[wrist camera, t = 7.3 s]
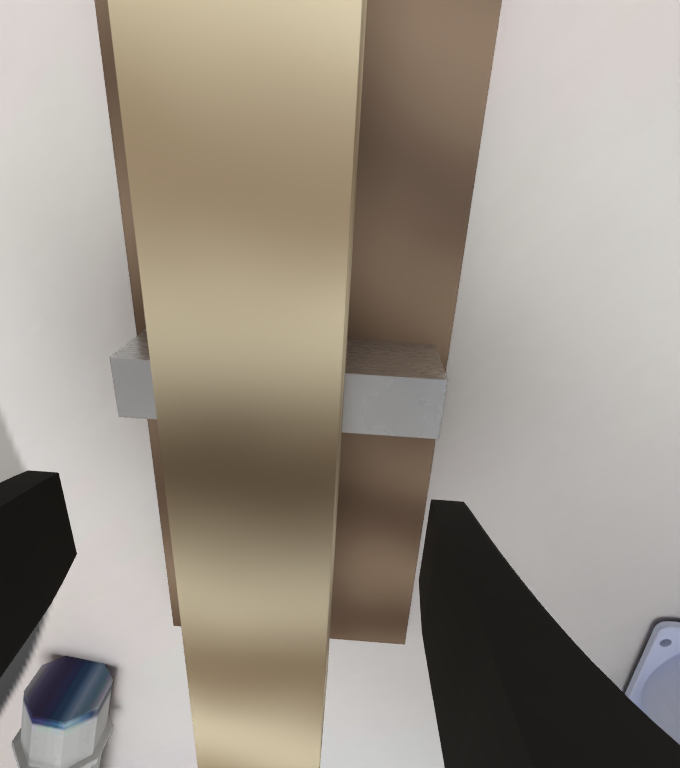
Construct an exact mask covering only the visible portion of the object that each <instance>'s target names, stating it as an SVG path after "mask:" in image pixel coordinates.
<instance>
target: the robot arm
mask: <svg viewBox="0 0 680 768" xmlns="http://www.w3.org/2000/svg"><path fill="white" fill-rule="evenodd" d="M76 555H77V552H76V548H75V544H74V539H73V535H72V530H71V526H70V521H69V517H68V513H67V508H66V504H65V499H64V495H63V490H62V486H61V481H60V477H59V473H55V472H41V471H26V472H23V473H21V474H19V475H16V476H14V477H12V478H10V479H7V480H5V481H3V482H1V483H0V677H1V676H2V675H3V673H4V672H5V670H6V669H7V667H8V666H9V664H10V663H11V662H12V660H13V659H14V657H15V656H16V654H17V653H18V652H19V650H20V649H21V647H22V646H23V644H24V643H25V641H26V640H27V639H28V637H29V636H30V634H31V633H32V631H33V630H34V628H35V627H36V625H37V624H38V622H39V621H40V619H41V618H42V617H43V615H44V614H45V612H46V611H47V609H48V608H49V606H50V605H51V603H52V601H53V599H54V597H55V596H56V594H57V592H58V590H59V588H60V586H61V585H62V583H63V581H64V579H65V577H66V575H67V573H68V571H69V569H70V567H71V565H72V563H73V561H74V559H75V557H76ZM419 591H420V610H421V625H422V636H423V642H424V648H425V654H426V660H427V666H428V672H429V678H430V684H431V689H432V695H433V701H434V707H435V713H436V719H437V724H438V730H439V736H440V742H441V748H442V754H443V759H444V766H445V768H680V622H672V621H663V622H660V623H658V624H657V625H656V626H655V628H654V630H653V632H652V634H651V636H650V639H649V641H648V643H647V645H646V648H645V650H644V652H643V654H642V657H641V659H640V661H639V663H638V665H637V668H636V670H635V672H634V674H633V677H632V679H631V681H630V683H629V686H628V688H627V690H626V692H625V694H624V693H623V692H622V691H621V690H620V689H619V688H618V687H617V686H616V685H615V684H614V683H613V682H612V681H611V680H610V679H609V678H608V677H607V676H606V675H605V674H604V673H603V672H602V671H601V670H600V669H599V668H598V667H597V666H596V665H595V664H594V663H593V662H592V661H591V660H590V659H589V658H588V657H587V656H586V655H585V653H584V652H583V651H582V650H581V649H580V648H579V647H578V646H577V645H576V644H575V643H574V641H573V640H572V639H571V638H570V637H569V636H568V635H567V634H566V632H565V631H564V630H563V629H562V628H561V627H560V626H559V624H558V623H557V622H556V621H555V620H554V619H553V618H552V616H551V615H550V614H549V613H548V612H547V611H546V609H545V608H544V607H543V606H542V605H541V603H540V602H539V601H538V600H537V599H536V597H535V596H534V595H533V594H532V592H531V591H530V590H529V589H528V587H527V586H526V585H525V584H524V582H523V581H522V580H521V579H520V577H519V576H518V575H517V574H516V572H515V571H514V570H513V569H512V567H511V566H510V565H509V563H508V562H507V561H506V559H505V558H504V557H503V555H502V554H501V553H500V551H499V550H498V549H497V547H496V546H495V544H494V543H493V542H492V540H491V539H490V538H489V536H488V535H487V533H486V532H485V531H484V529H483V528H482V526H481V525H480V523H479V522H478V521H477V519H476V518H475V516H474V515H473V513H472V512H471V511H470V509H469V508H468V506H467V505H466V504H465V503H464V502H459V501H445V500H431V504H430V510H429V517H428V524H427V530H426V537H425V543H424V550H423V556H422V563H421V569H420V576H419Z"/></svg>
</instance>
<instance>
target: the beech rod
mask: <svg viewBox="0 0 680 768" xmlns="http://www.w3.org/2000/svg"><path fill="white" fill-rule="evenodd" d="M108 8H109V17H110V25H111V34H112V42H113V51H114V59H115V68H116V76H117V85H118V93H119V101H120V110H121V118H122V127H123V135H124V144H125V152H126V161H127V169H128V178H129V186H130V195H131V203H132V212H133V220H134V229H135V237H136V246H137V254H138V263H139V271H140V280H141V288H142V297H143V305H144V314H145V322H146V331H147V339H148V348H149V356H150V365H151V373H152V382H153V390H154V399H155V407H156V416H157V424H158V433H159V441H160V450H161V458H162V466H163V475H164V483H165V492H166V500H167V509H168V517H169V526H170V534H171V543H172V551H173V560H174V568H175V577H176V585H177V594H178V602H179V611H180V619H181V628H182V636H183V645H184V653H185V662H186V670H187V679H188V687H189V696H190V704H191V713H192V721H193V730H194V738H195V747H196V755H197V764H198V768H320V759H321V746H322V734H323V721H324V709H325V697H326V684H327V672H328V655H329V638H330V621H331V604H332V588H333V571H334V554H335V537H336V520H337V503H338V486H339V469H340V452H341V435H342V418H343V401H344V384H345V367H346V350H347V333H348V317H349V300H350V283H351V266H352V249H353V232H354V215H355V198H356V181H357V164H358V147H359V130H360V113H361V96H362V79H363V62H364V46H365V29H366V12H367V0H108Z"/></svg>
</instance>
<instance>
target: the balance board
mask: <svg viewBox="0 0 680 768" xmlns="http://www.w3.org/2000/svg"><path fill="white" fill-rule="evenodd" d="M501 3H502V0H367V12H366V29H365V46H364V62H363V79H362V96H361V113H360V130H359V147H358V164H357V181H356V198H355V215H354V232H353V249H352V266H351V283H350V300H349V317H348V333H347V339H358V340H374V341H389V342H404V343H420V344H435V345H436V348H437V351H438V354H439V357H440V360H441V363H442V366H443V368H444V371H445V374H446V367H447V361H448V354H449V347H450V341H451V334H452V327H453V321H454V314H455V307H456V301H457V294H458V288H459V281H460V274H461V268H462V261H463V254H464V248H465V241H466V235H467V228H468V221H469V215H470V208H471V201H472V195H473V188H474V182H475V175H476V168H477V162H478V155H479V148H480V142H481V135H482V129H483V122H484V115H485V109H486V102H487V95H488V89H489V82H490V76H491V69H492V62H493V56H494V49H495V42H496V36H497V29H498V23H499V16H500V9H501ZM95 8H96V16H97V24H98V31H99V39H100V47H101V55H102V63H103V71H104V79H105V87H106V95H107V103H108V110H109V118H110V126H111V134H112V142H113V150H114V158H115V166H116V174H117V182H118V189H119V197H120V205H121V213H122V221H123V229H124V237H125V245H126V253H127V261H128V268H129V276H130V284H131V292H132V300H133V308H134V316H135V324H136V332H137V336H138V335H139V334H140V333H141V332H143V331H144V330H145V329H146V322H145V314H144V305H143V297H142V288H141V280H140V271H139V263H138V254H137V246H136V237H135V229H134V220H133V212H132V203H131V195H130V186H129V178H128V169H127V161H126V152H125V144H124V135H123V127H122V118H121V110H120V101H119V93H118V85H117V76H116V68H115V59H114V51H113V42H112V34H111V25H110V17H109V8H108V0H95ZM148 427H149V434H150V442H151V450H152V458H153V466H154V474H155V482H156V490H157V498H158V506H159V513H160V521H161V529H162V537H163V545H164V553H165V561H166V569H167V577H168V585H169V592H170V600H171V608H172V616H173V624H174V626H181V619H180V611H179V602H178V594H177V585H176V577H175V568H174V560H173V551H172V543H171V534H170V526H169V517H168V509H167V500H166V492H165V483H164V475H163V466H162V458H161V450H160V441H159V433H158V424H157V419H148ZM435 440H436V439H429V438H415V437H401V436H386V435H372V434H358V433H344V432H342V435H341V452H340V469H339V486H338V503H337V520H336V537H335V554H334V571H333V588H332V604H331V621H330V638H332V639H344V640H357V641H369V642H381V643H393V644H405V639H406V632H407V626H408V619H409V612H410V606H411V599H412V592H413V586H414V579H415V573H416V566H417V559H418V553H419V546H420V539H421V533H422V526H423V520H424V513H425V506H426V500H427V493H428V486H429V480H430V473H431V467H432V460H433V453H434V447H435Z"/></svg>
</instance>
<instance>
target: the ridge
mask: <svg viewBox="0 0 680 768" xmlns="http://www.w3.org/2000/svg"><path fill="white" fill-rule="evenodd" d="M110 363H111V369H112V376H113V382H114V389H115V395H116V402H117V408H118V415H119V417H130V418H144V419H157V416H156V407H155V399H154V390H153V382H152V373H151V365H150V356H149V348H148V339H147V331H146V329H145V330H144V331H143V332H141V333H140V334H139V335H138V336H136V337H135V338H134V339H132V340H131V341H130V342H129V343H127V344H126V345H125V346H124V347H122V348H121V349H120V350H119V351H117V352H116V353H115V354H113V355H112V356H111V357H110ZM446 387H447V377H446V374H445V371H444V368H443V366H442V363H441V360H440V357H439V354H438V351H437V348H436V345H435V344H420V343H404V342H389V341H374V340H358V339H347V350H346V367H345V384H344V401H343V418H342V432H344V433H358V434H372V435H386V436H401V437H415V438H429V439H439V432H440V426H441V419H442V413H443V406H444V400H445V393H446Z"/></svg>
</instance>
